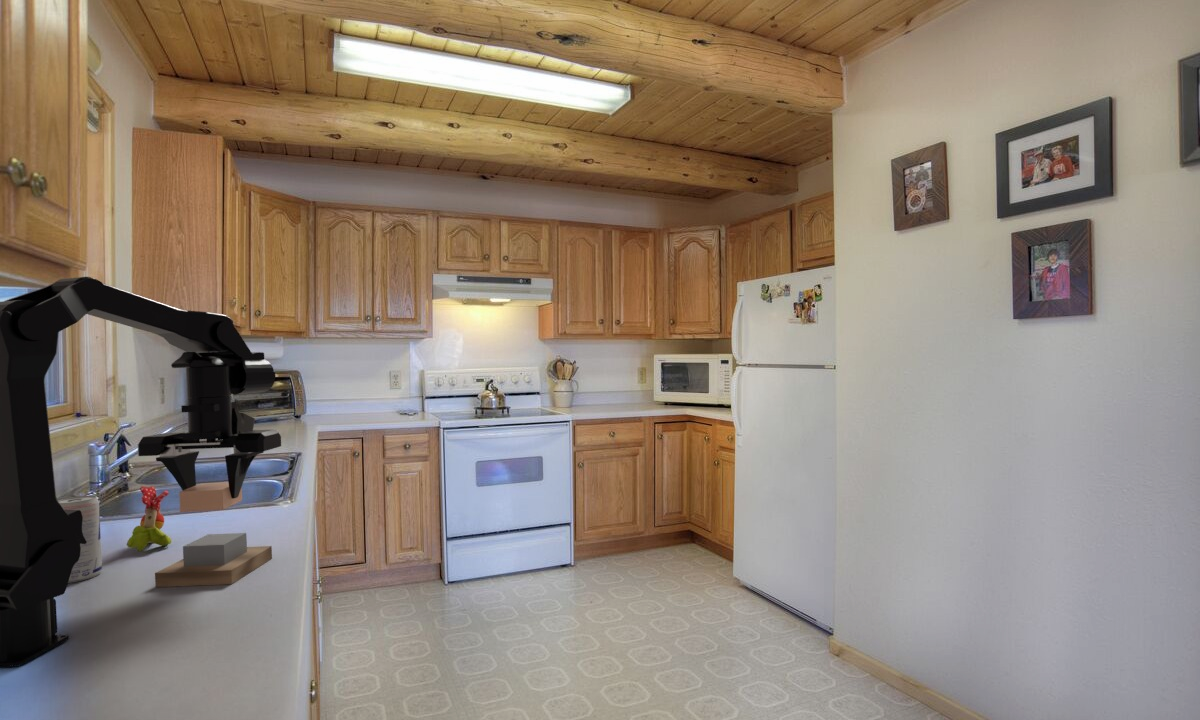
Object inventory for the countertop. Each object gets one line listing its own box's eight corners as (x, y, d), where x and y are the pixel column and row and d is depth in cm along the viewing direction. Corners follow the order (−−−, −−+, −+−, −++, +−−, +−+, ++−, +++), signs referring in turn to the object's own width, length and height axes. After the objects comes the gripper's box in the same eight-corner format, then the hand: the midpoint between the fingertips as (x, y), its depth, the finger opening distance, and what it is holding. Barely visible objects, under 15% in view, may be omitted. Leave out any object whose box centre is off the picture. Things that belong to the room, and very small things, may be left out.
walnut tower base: (231, 584, 88) (231, 570, 88) (155, 586, 88) (154, 573, 88) (272, 558, 99) (271, 546, 99) (204, 560, 99) (203, 548, 99)
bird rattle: (129, 558, 109) (125, 549, 102) (128, 497, 112) (125, 484, 105) (172, 551, 112) (171, 542, 105) (170, 492, 116) (169, 479, 109)
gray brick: (224, 564, 91) (223, 544, 91) (183, 566, 91) (182, 546, 91) (247, 551, 97) (246, 532, 97) (208, 553, 97) (207, 534, 97)
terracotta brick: (223, 509, 90) (222, 489, 90) (180, 512, 90) (179, 491, 90) (242, 500, 96) (241, 481, 96) (201, 502, 96) (201, 483, 96)
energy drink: (97, 568, 97) (94, 493, 97) (106, 575, 94) (102, 497, 94) (52, 578, 93) (49, 500, 93) (60, 586, 90) (56, 505, 90)
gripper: (296, 391, 102) (300, 485, 102) (183, 395, 101) (187, 489, 102) (259, 396, 90) (263, 501, 91) (132, 400, 90) (137, 505, 90)
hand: (213, 498), depth 94 cm, fingers closed on terracotta brick, 6 cm apart
